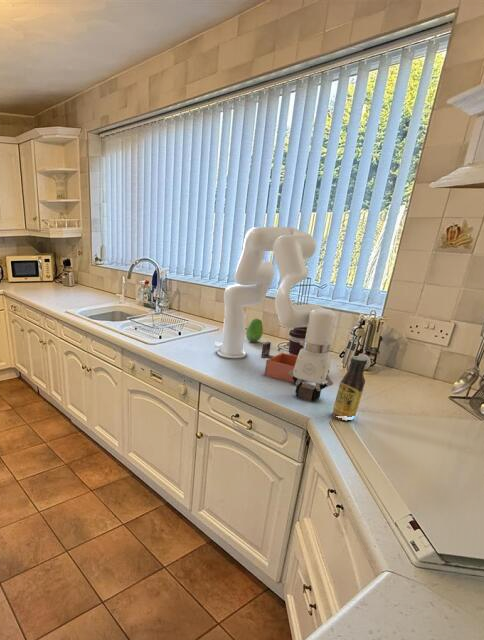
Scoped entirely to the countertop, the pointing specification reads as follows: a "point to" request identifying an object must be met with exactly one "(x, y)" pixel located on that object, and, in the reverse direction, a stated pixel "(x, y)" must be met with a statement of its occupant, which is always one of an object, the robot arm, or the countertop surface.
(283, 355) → the tub
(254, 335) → the avocado
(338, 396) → the sauce bottle
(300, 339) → the coffee cup
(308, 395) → the block
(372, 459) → the countertop surface
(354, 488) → the countertop surface
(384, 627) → the countertop surface
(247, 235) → the robot arm
